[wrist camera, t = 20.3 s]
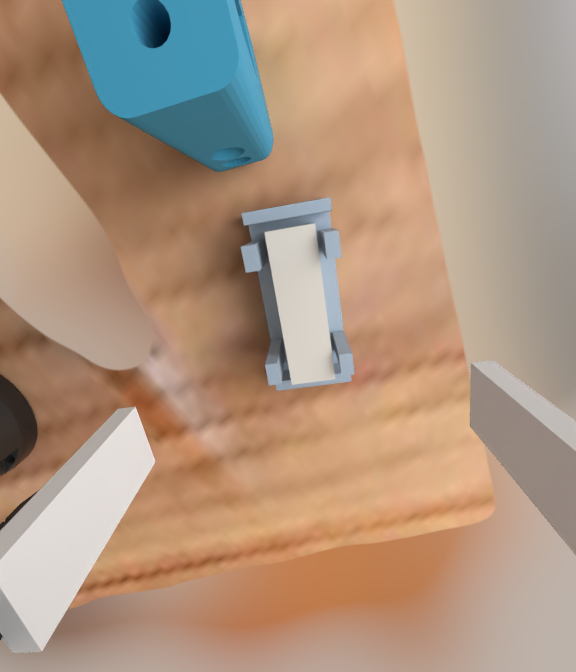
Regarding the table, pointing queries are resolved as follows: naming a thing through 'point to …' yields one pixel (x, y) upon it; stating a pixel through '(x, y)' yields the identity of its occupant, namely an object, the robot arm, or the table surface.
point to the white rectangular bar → (301, 302)
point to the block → (178, 74)
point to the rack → (259, 261)
